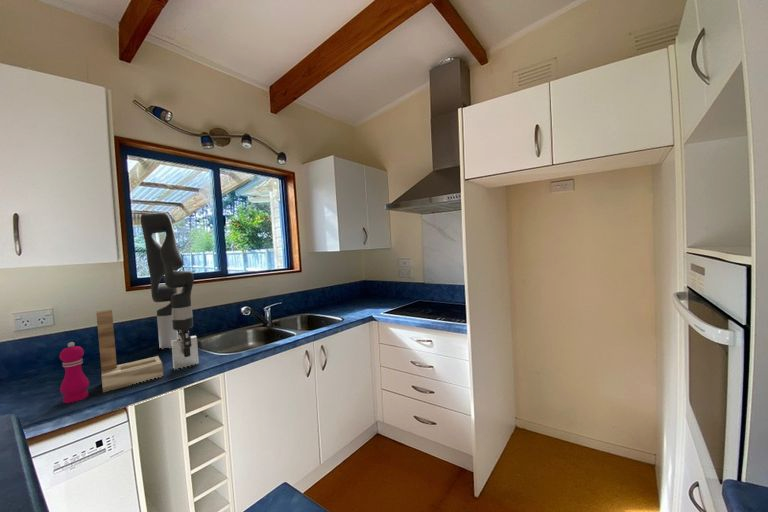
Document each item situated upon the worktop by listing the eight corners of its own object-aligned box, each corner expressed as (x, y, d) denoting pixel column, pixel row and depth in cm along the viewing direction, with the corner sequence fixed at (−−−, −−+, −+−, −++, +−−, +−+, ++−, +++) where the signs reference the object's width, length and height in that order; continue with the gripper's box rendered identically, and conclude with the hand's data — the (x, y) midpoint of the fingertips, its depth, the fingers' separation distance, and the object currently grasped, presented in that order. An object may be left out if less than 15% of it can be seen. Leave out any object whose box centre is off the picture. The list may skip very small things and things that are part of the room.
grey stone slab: (173, 368, 134) (171, 340, 134) (197, 362, 140) (195, 335, 140) (174, 370, 132) (172, 341, 131) (198, 363, 138) (196, 336, 137)
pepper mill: (93, 392, 114) (88, 337, 114) (86, 400, 108) (80, 342, 107) (66, 397, 111) (61, 341, 110) (57, 406, 105) (51, 347, 104)
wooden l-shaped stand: (102, 382, 122) (96, 311, 121) (158, 368, 134) (153, 303, 133) (103, 392, 113) (96, 315, 112) (163, 376, 126) (157, 307, 124)
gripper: (169, 316, 138) (172, 353, 139) (175, 321, 127) (178, 360, 128) (189, 313, 143) (191, 348, 144) (196, 317, 132) (199, 355, 133)
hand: (185, 354), depth 136 cm, fingers open, 8 cm apart
